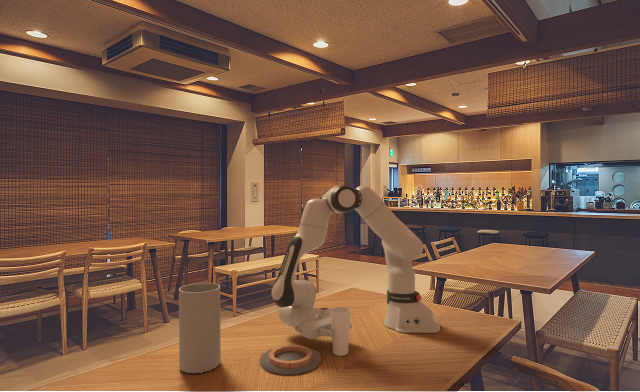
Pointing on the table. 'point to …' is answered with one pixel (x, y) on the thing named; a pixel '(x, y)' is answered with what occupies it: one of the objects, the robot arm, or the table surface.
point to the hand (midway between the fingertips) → (341, 330)
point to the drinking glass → (340, 330)
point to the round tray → (290, 360)
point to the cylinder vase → (199, 327)
